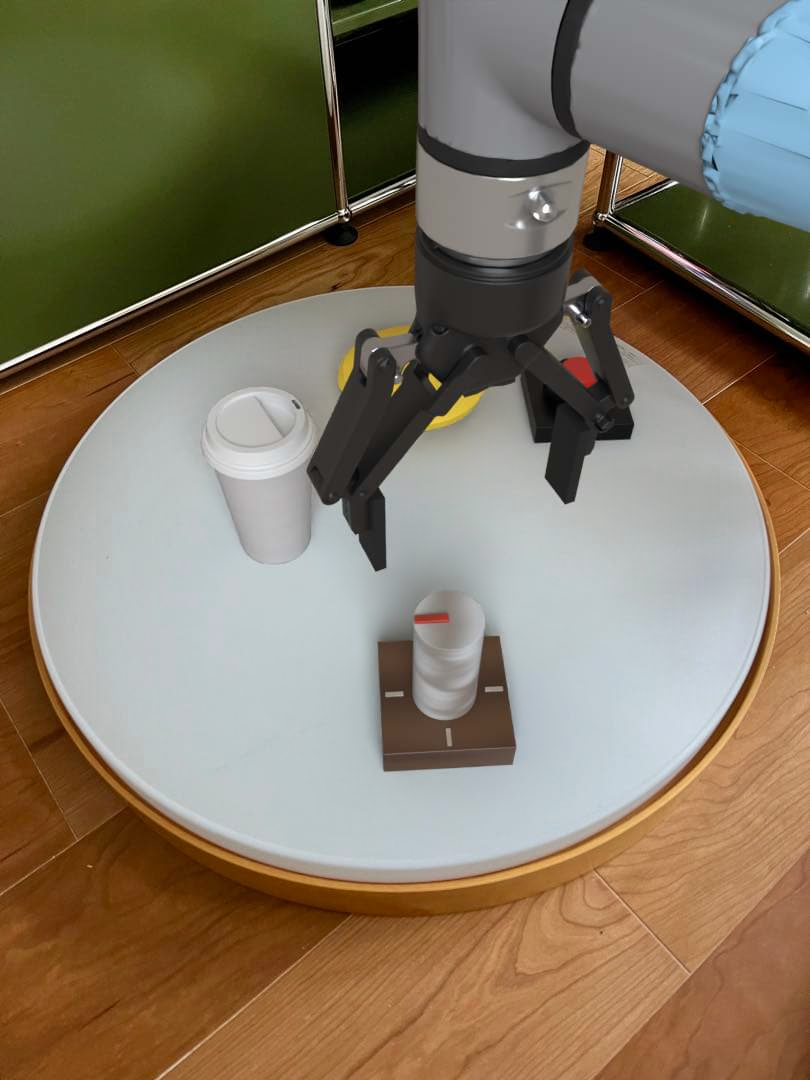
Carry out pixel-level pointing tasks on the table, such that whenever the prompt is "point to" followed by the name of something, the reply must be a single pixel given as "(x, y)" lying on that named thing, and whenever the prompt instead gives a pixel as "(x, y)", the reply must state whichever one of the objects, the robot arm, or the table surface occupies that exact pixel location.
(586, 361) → the button
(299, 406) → the coffee cup
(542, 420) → the black button base
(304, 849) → the table surface
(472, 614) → the tap knob
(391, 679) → the panel
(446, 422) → the yellow funnel lid
